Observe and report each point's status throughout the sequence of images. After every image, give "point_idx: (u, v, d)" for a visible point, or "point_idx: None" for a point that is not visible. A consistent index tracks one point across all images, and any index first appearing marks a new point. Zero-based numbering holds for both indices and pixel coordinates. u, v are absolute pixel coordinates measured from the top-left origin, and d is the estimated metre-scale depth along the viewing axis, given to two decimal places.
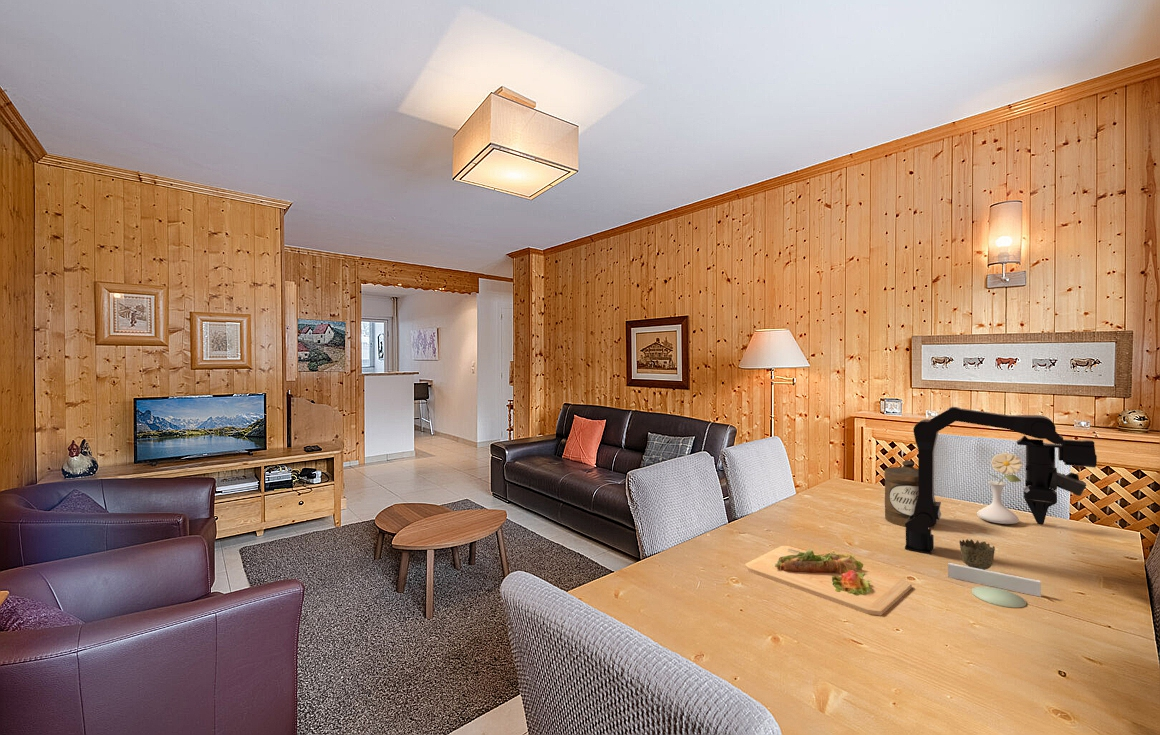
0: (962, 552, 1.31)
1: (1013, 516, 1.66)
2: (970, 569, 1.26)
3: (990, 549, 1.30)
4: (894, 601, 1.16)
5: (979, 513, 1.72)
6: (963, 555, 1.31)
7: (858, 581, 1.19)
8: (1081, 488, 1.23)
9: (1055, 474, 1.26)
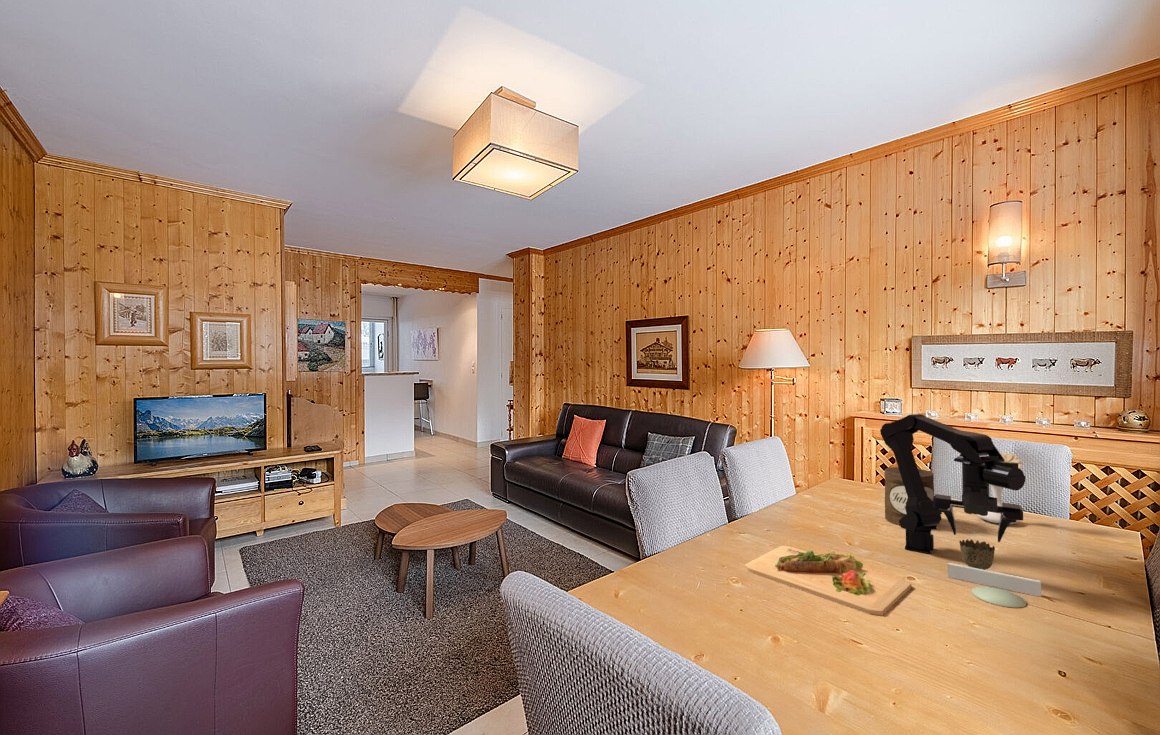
0: (962, 552, 1.31)
1: None
2: (970, 569, 1.26)
3: (990, 549, 1.30)
4: (894, 601, 1.16)
5: None
6: (963, 555, 1.31)
7: (858, 581, 1.19)
8: (964, 505, 1.26)
9: (964, 490, 1.30)
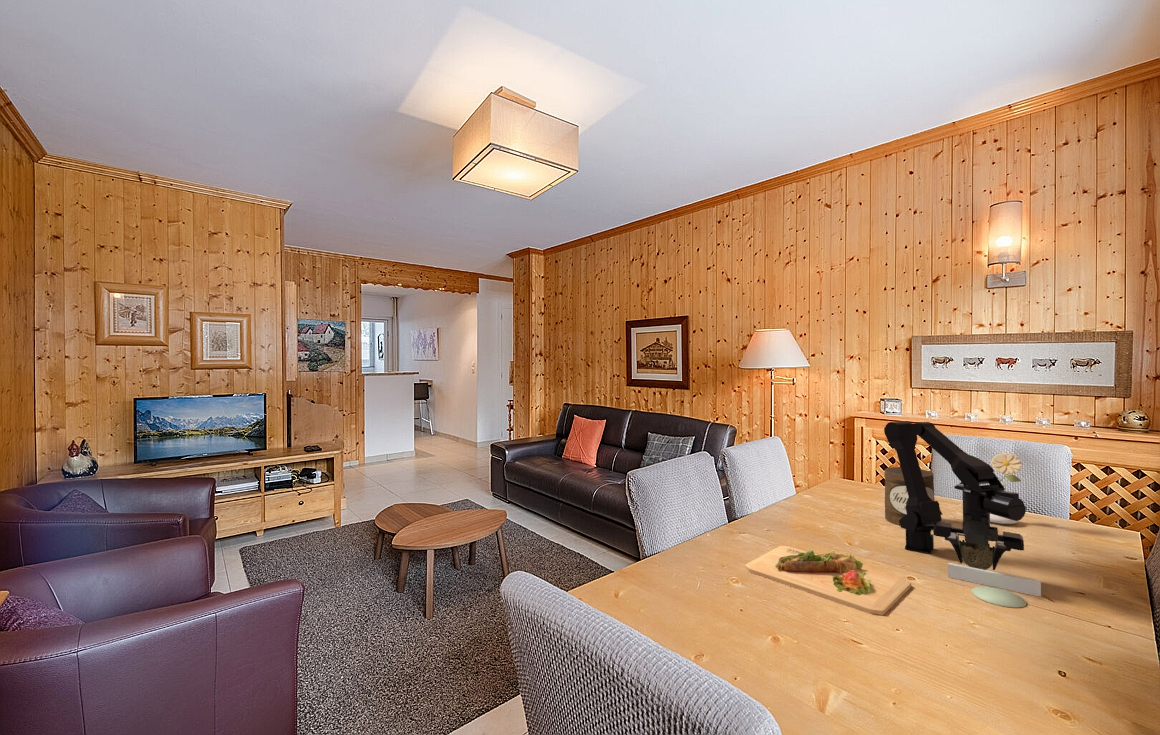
0: (962, 552, 1.31)
1: None
2: (970, 569, 1.26)
3: (990, 549, 1.30)
4: (895, 600, 1.16)
5: None
6: (963, 555, 1.31)
7: (859, 581, 1.19)
8: (964, 534, 1.26)
9: (964, 518, 1.30)
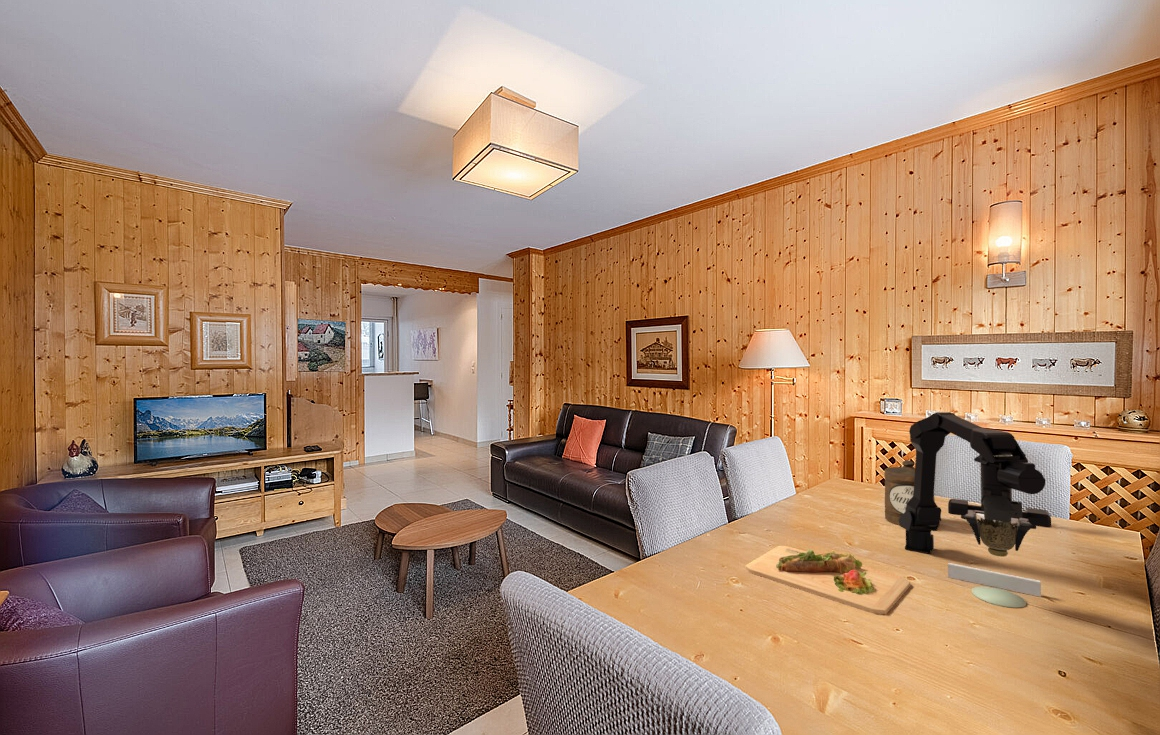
0: (981, 531, 1.18)
1: None
2: (970, 569, 1.26)
3: (1012, 528, 1.17)
4: (896, 599, 1.16)
5: None
6: (982, 535, 1.18)
7: (860, 580, 1.20)
8: (984, 510, 1.13)
9: (983, 494, 1.17)
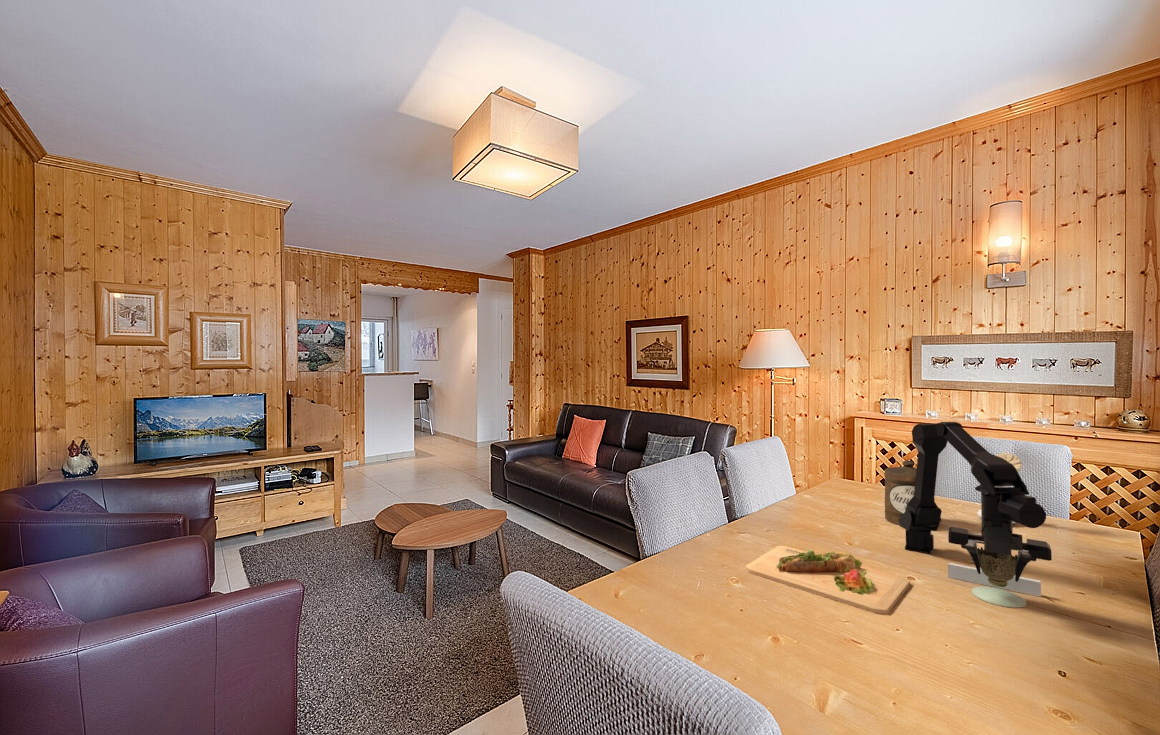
0: (981, 561, 1.18)
1: None
2: (970, 569, 1.26)
3: (1012, 558, 1.17)
4: (897, 599, 1.17)
5: (979, 513, 1.72)
6: (982, 565, 1.18)
7: (861, 580, 1.20)
8: (984, 542, 1.13)
9: (983, 524, 1.17)
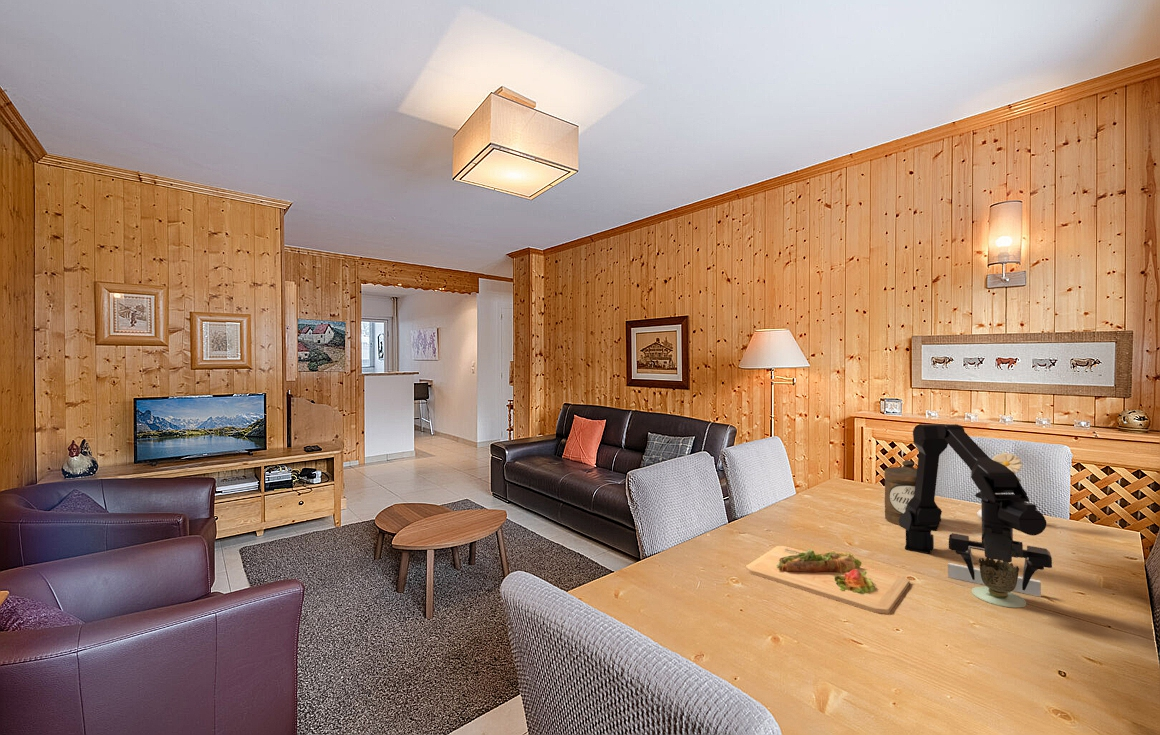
0: (982, 572, 1.18)
1: None
2: None
3: (1013, 569, 1.17)
4: (897, 598, 1.17)
5: (979, 513, 1.72)
6: (983, 576, 1.18)
7: (862, 580, 1.20)
8: (984, 549, 1.13)
9: (984, 531, 1.16)
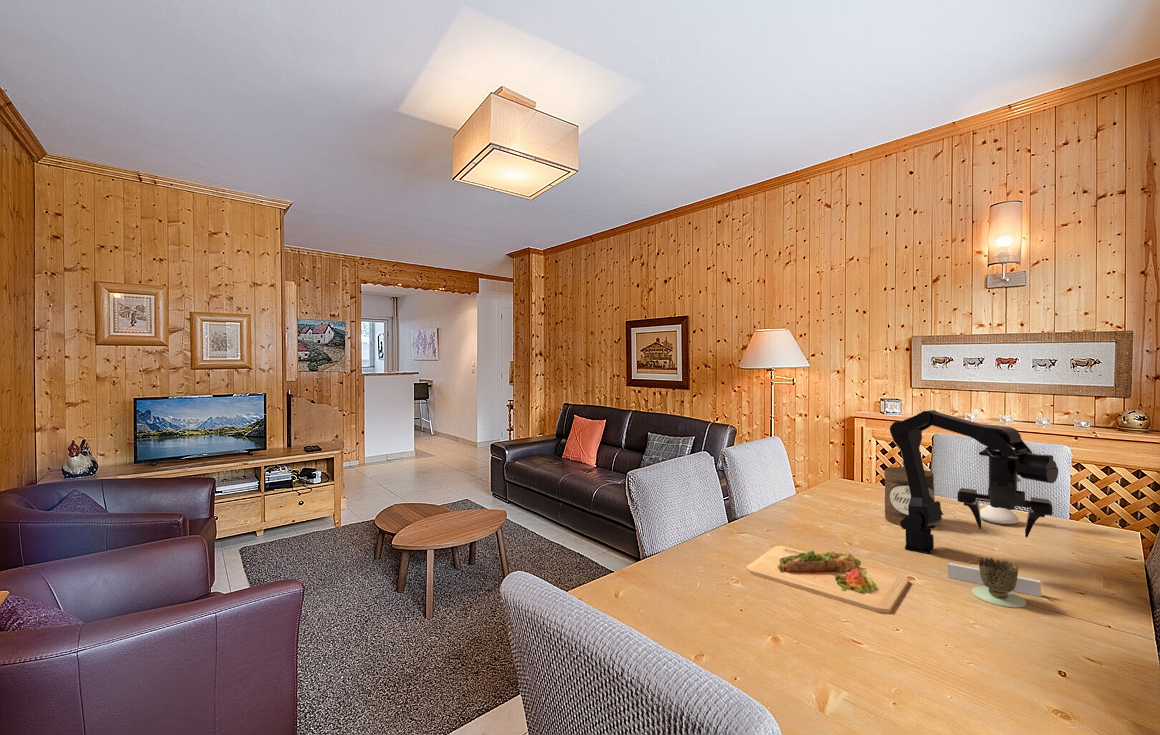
0: (981, 572, 1.18)
1: (1013, 516, 1.66)
2: (970, 569, 1.26)
3: (1013, 569, 1.17)
4: (898, 597, 1.17)
5: None
6: (983, 576, 1.18)
7: (863, 579, 1.20)
8: (990, 499, 1.24)
9: (990, 484, 1.27)
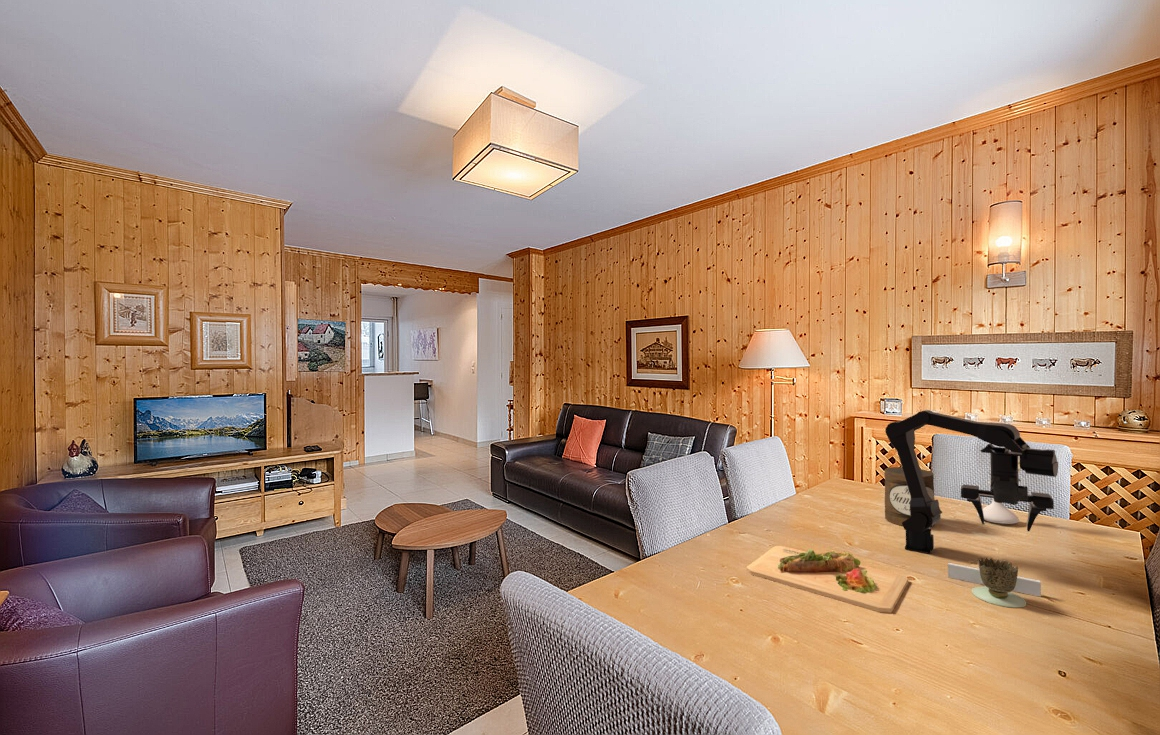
0: (981, 572, 1.18)
1: (1013, 516, 1.66)
2: (970, 569, 1.26)
3: (1013, 569, 1.17)
4: (898, 597, 1.18)
5: None
6: (982, 576, 1.18)
7: (863, 579, 1.20)
8: (994, 494, 1.27)
9: (992, 479, 1.30)
